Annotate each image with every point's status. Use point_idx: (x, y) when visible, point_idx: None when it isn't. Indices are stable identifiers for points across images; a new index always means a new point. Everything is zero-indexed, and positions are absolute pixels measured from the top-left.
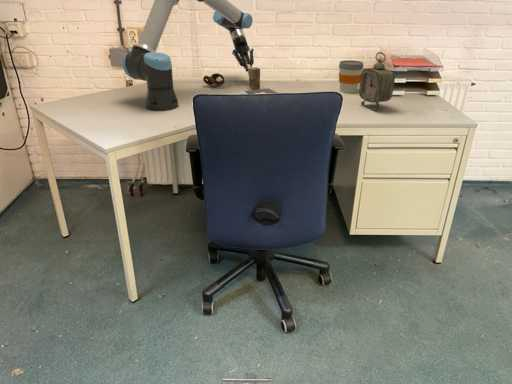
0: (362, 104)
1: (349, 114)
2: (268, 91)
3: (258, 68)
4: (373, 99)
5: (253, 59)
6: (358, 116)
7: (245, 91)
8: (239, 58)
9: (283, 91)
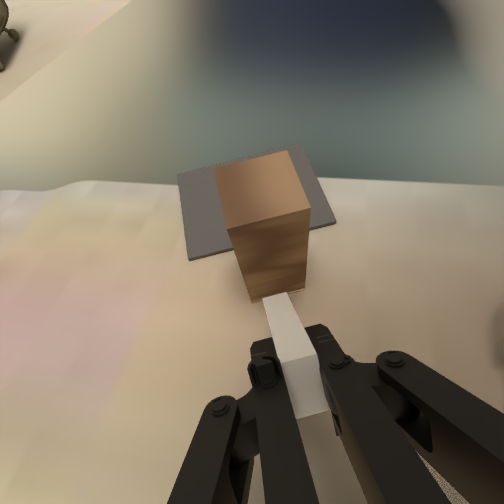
0: (2, 65)
1: (91, 22)
2: (211, 199)
3: (223, 181)
4: (1, 4)
5: (186, 460)
6: (83, 15)
7: (333, 217)
8: (496, 421)
9: (134, 210)
